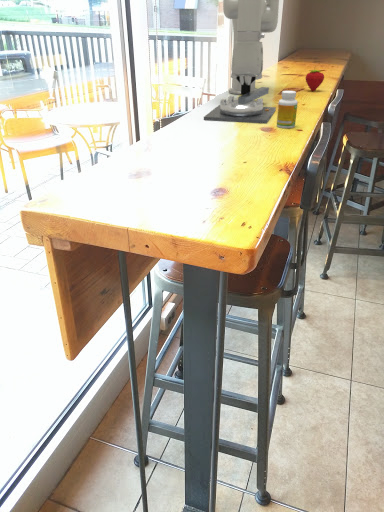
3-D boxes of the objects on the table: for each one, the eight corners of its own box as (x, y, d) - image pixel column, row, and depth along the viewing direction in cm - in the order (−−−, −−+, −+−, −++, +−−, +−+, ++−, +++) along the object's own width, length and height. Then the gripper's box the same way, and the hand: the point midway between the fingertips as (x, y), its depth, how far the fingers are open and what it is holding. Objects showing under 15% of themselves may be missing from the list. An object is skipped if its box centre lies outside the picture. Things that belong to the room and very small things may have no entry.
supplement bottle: (295, 128, 119) (299, 93, 114) (276, 128, 120) (279, 93, 115) (294, 124, 123) (298, 90, 118) (276, 124, 124) (279, 89, 119)
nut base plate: (219, 107, 146) (219, 103, 146) (275, 110, 141) (275, 106, 140) (203, 120, 130) (203, 115, 129) (266, 123, 125) (266, 119, 124)
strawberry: (322, 92, 169) (325, 66, 164) (303, 92, 171) (306, 66, 166) (322, 90, 174) (326, 64, 169) (304, 89, 176) (307, 64, 171)
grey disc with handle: (247, 98, 154) (247, 86, 152) (282, 101, 148) (284, 88, 146) (212, 113, 133) (212, 99, 130) (253, 117, 127) (254, 102, 125)
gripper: (273, 36, 134) (268, 95, 144) (228, 36, 139) (227, 94, 148) (269, 38, 128) (264, 99, 138) (223, 38, 132) (222, 97, 142)
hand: (245, 96), depth 143 cm, fingers closed
